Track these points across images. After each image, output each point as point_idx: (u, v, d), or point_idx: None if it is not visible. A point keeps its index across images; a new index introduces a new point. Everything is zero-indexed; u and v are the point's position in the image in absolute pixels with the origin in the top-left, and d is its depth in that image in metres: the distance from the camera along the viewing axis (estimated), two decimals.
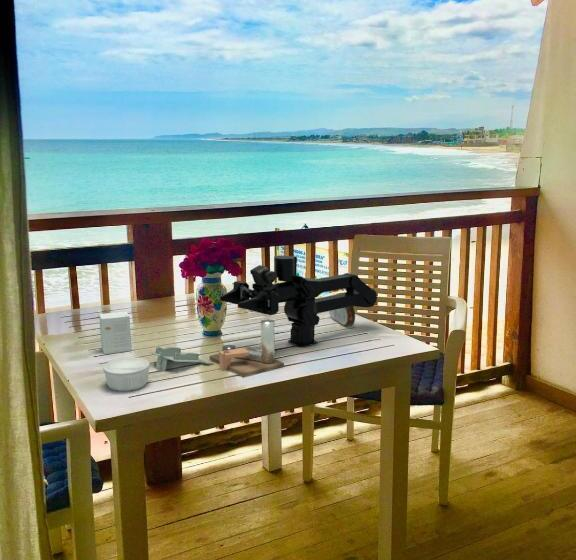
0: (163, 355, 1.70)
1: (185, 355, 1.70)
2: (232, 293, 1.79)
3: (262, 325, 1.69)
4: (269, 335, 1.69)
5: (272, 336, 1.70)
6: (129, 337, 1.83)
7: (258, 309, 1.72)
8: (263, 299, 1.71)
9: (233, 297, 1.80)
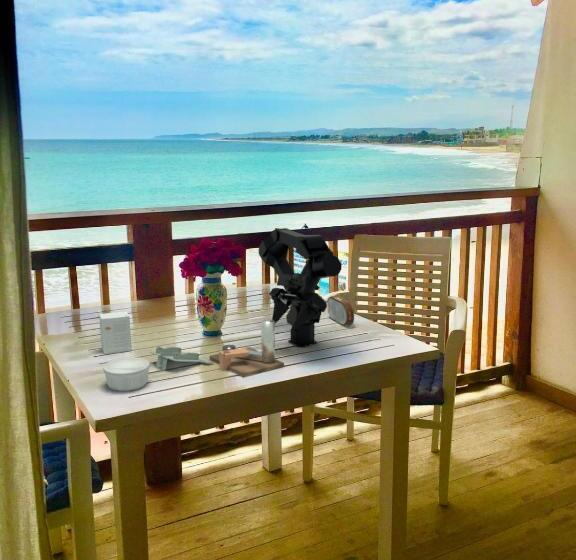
0: (163, 355, 1.70)
1: (185, 355, 1.71)
2: (277, 309, 1.80)
3: (263, 325, 1.69)
4: (270, 335, 1.69)
5: (273, 336, 1.70)
6: (129, 337, 1.83)
7: (311, 315, 1.73)
8: (308, 306, 1.71)
9: (280, 310, 1.81)
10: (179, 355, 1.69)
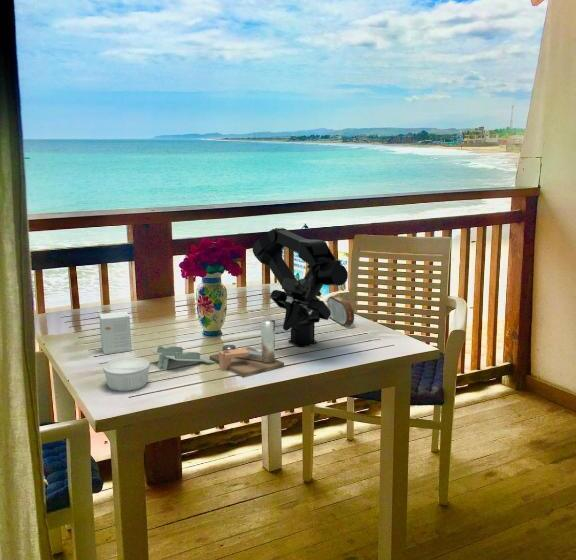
0: (164, 354, 1.70)
1: (186, 354, 1.71)
2: (289, 315, 1.76)
3: (263, 325, 1.69)
4: (270, 335, 1.69)
5: (273, 336, 1.70)
6: (129, 337, 1.83)
7: (302, 318, 1.77)
8: (301, 310, 1.75)
9: None
10: (180, 354, 1.69)
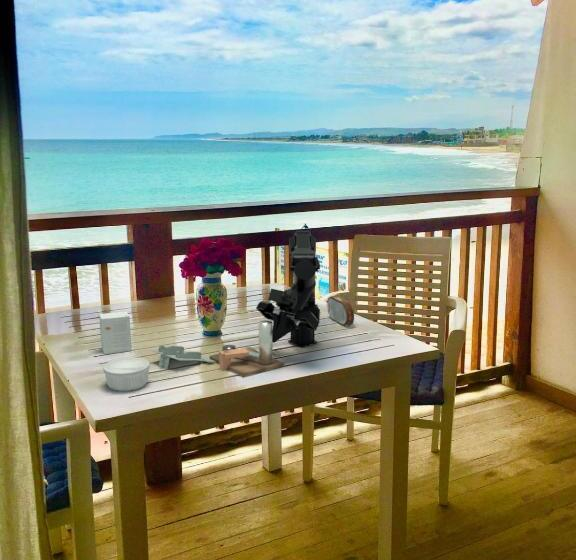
0: (166, 353, 1.71)
1: (187, 354, 1.72)
2: (277, 327, 1.73)
3: (259, 326, 1.68)
4: (266, 336, 1.68)
5: (269, 337, 1.69)
6: (129, 337, 1.83)
7: (289, 329, 1.73)
8: (288, 321, 1.71)
9: None
10: (181, 354, 1.70)
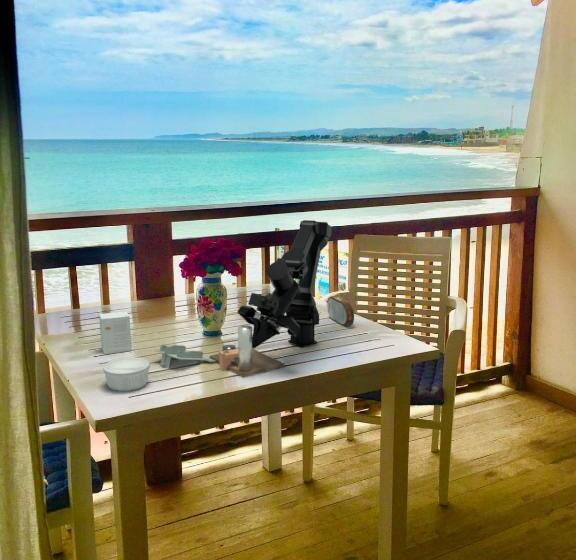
0: (167, 353, 1.71)
1: (189, 353, 1.72)
2: (257, 332, 1.68)
3: (238, 330, 1.65)
4: (241, 342, 1.64)
5: (245, 343, 1.64)
6: (129, 337, 1.83)
7: (270, 335, 1.69)
8: (269, 326, 1.67)
9: None
10: (183, 353, 1.70)
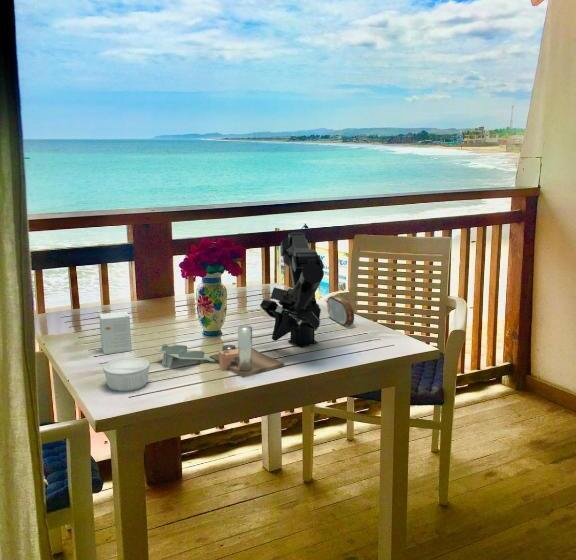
0: (169, 352, 1.72)
1: (190, 353, 1.72)
2: (278, 325, 1.74)
3: (238, 330, 1.65)
4: (241, 342, 1.64)
5: (245, 343, 1.64)
6: (129, 337, 1.83)
7: (291, 328, 1.75)
8: (290, 320, 1.73)
9: None
10: (184, 353, 1.71)
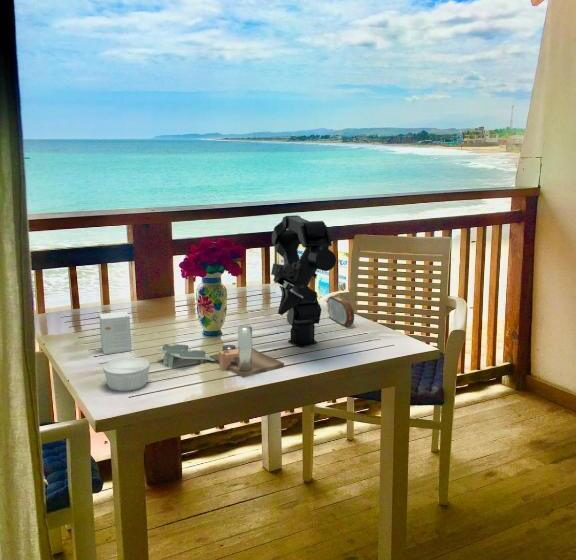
0: (170, 352, 1.72)
1: (191, 352, 1.73)
2: None
3: (238, 330, 1.65)
4: (241, 342, 1.64)
5: (245, 343, 1.64)
6: (129, 337, 1.83)
7: (296, 301, 1.77)
8: (291, 294, 1.75)
9: None
10: (185, 352, 1.71)
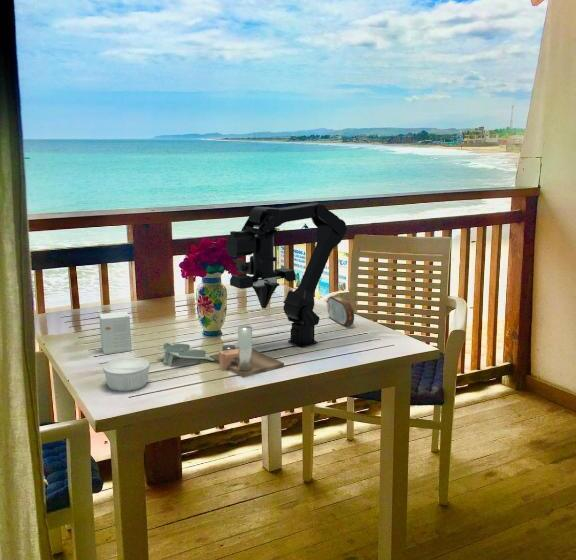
0: (170, 351, 1.73)
1: (191, 351, 1.73)
2: None
3: (238, 330, 1.65)
4: (241, 342, 1.64)
5: (245, 343, 1.64)
6: (129, 337, 1.83)
7: (261, 291, 1.77)
8: None
9: None
10: (185, 352, 1.72)
